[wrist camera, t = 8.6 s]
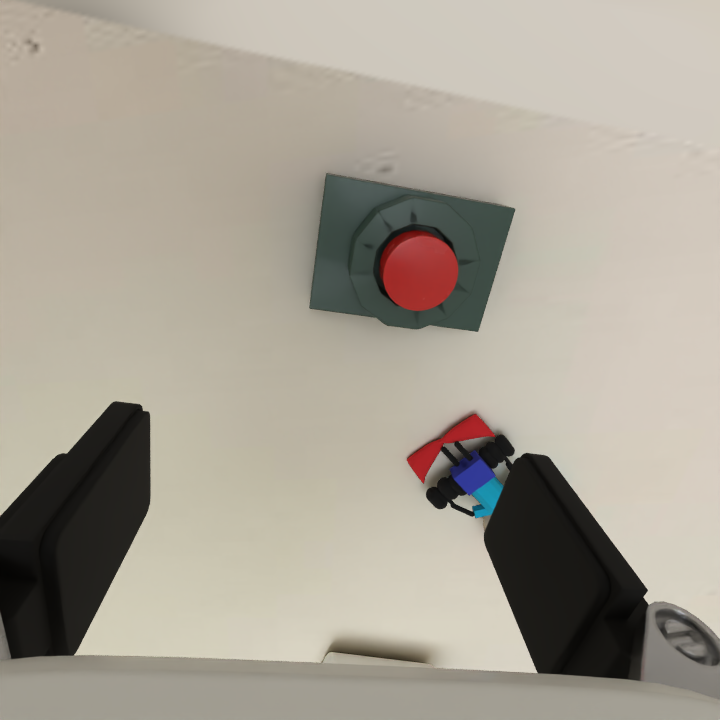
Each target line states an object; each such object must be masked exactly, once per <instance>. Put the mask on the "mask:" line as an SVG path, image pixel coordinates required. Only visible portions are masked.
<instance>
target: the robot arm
mask: <svg viewBox="0 0 720 720" xmlns="http://www.w3.org/2000/svg"><path fill="white" fill-rule="evenodd" d="M149 505H150V414H149V412H147V411H143V408H142V406H141V405H140V404H132V403H124V402H117V401H116V402H113V403H112V404H111V405H110V406H109V407H108V408H107V409H106V410H105V411H104V412H103V414H102V415H101V416H100V417H99V418H98V419H97V420H96V422H95V423H94V424H93V425H92V426H91V427H90V428H89V429H88V431H87V432H86V433H85V434H84V435H83V436H82V437H81V439H80V440H79V441H78V442H77V443H76V444H75V445H74V446H73V448H72V449H71V450H70V451H69V452H68V453H67V454H64V453H62V454H59V455H57V456H56V457H55V458H54V459H52V460H51V462H50V463H49V464H48V465H47V466H46V467H45V468H44V469H43V470H42V471H41V472H40V474H39V475H38V476H37V477H36V478H35V479H34V480H33V481H32V482H31V483H30V484H29V486H28V487H27V488H26V489H25V490H24V491H23V492H22V493H21V494H20V495H19V497H18V498H17V499H16V500H15V501H14V502H13V503H12V504H11V505H10V506H9V507H8V509H7V510H6V511H5V512H4V513H3V514H2V515H1V516H0V720H720V639H719V638H718V637H717V636H716V634H715V633H714V632H713V631H712V630H711V629H710V628H709V627H708V626H707V625H706V624H704V623H703V622H702V621H701V620H700V619H699V618H697V617H696V616H694V615H693V614H691V613H690V612H688V611H687V610H685V609H682V608H680V607H678V606H676V605H674V604H670V603H667V602H654V603H652V604H650V605H648V603H647V602H646V601H645V599H644V598H643V597H644V595H645V594H646V592H647V591H648V590H647V588H646V587H645V586H644V584H643V583H642V582H641V580H640V579H639V578H638V576H637V575H636V573H635V572H634V571H633V569H632V568H631V567H630V565H629V564H628V563H627V561H626V560H625V559H624V557H623V556H622V555H621V553H620V552H619V551H618V549H617V548H616V547H615V545H614V544H613V543H612V541H611V540H610V539H609V537H608V536H607V535H606V533H605V532H604V531H603V529H602V528H601V526H600V525H599V524H598V522H597V521H596V520H595V518H594V517H593V516H592V514H591V513H590V512H589V510H588V509H587V508H586V506H585V505H584V504H583V502H582V501H581V500H580V498H579V497H578V496H577V494H576V493H575V492H574V490H573V489H572V488H571V486H570V485H569V483H568V482H567V481H566V479H565V478H564V477H563V475H562V474H561V473H560V471H559V470H558V469H557V467H556V466H555V465H554V463H553V462H552V461H551V459H550V458H549V457H548V456H545V455H538V454H530V453H525V454H523V455H522V456H521V458H517V459H516V460H515V461H514V463H513V466H512V468H511V470H510V473H509V475H508V477H507V480H506V482H505V484H504V487H503V489H502V491H501V494H500V496H499V498H498V501H497V503H496V506H495V508H494V510H493V513H492V515H491V517H490V520H489V522H488V524H487V527H486V529H485V532H484V542H485V546H486V548H487V551H488V553H489V556H490V558H491V561H492V563H493V565H494V568H495V570H496V573H497V575H498V578H499V580H500V583H501V585H502V587H503V590H504V592H505V595H506V597H507V600H508V602H509V604H510V607H511V609H512V612H513V614H514V617H515V619H516V622H517V624H518V626H519V629H520V631H521V634H522V636H523V639H524V641H525V644H526V646H527V648H528V651H529V653H530V656H531V658H532V661H533V663H534V666H535V668H536V670H537V672H538V673H521V672H502V671H483V670H463V669H443V668H422V667H400V666H379V665H356V664H334V663H312V662H287V661H262V660H237V659H212V658H187V657H147V656H102V655H78V656H73V655H74V654H75V653H76V651H77V650H78V648H79V646H80V644H81V642H82V640H83V638H84V636H85V634H86V632H87V630H88V628H89V626H90V624H91V622H92V620H93V618H94V616H95V614H96V612H97V610H98V608H99V607H100V605H101V603H102V601H103V599H104V597H105V595H106V593H107V591H108V589H109V587H110V585H111V583H112V581H113V579H114V577H115V575H116V573H117V571H118V569H119V567H120V565H121V563H122V561H123V559H124V557H125V555H126V553H127V551H128V550H129V548H130V546H131V544H132V542H133V540H134V538H135V536H136V534H137V532H138V530H139V528H140V526H141V524H142V522H143V520H144V518H145V516H146V514H147V512H148V509H149Z"/></svg>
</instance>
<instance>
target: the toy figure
mask: <svg viewBox="0 0 720 720" xmlns="http://www.w3.org/2000/svg"><path fill="white" fill-rule="evenodd" d="M486 436H491V437H495V435H494V434H493V432H492V431H491V430H490V429H489V427H488V426H487V425H486V424H485V423H484V422H483V421H482V420H481V419H480V418H479V417H478V416H477V415H476V414H474V415H472V416H470V417H469V418H467V419H465V420H464V421H462V422H461V423H459V424H458V425H456V426H455V427H453V428H452V429H451V430H450V431H449V432H448V433H446V434H445V436H444V437H443V438H441V439H438V440H436V441H433V442H431V443H429V444H427V445H425V446H424V447H423V448H421V449H420V450H418V451H417V452H415V453H414V454H413V455H411V456H410V457H409V458H408V459H407V461H408V463H409V465H410V466H411V468H412V469H413V471H414V472H415V474H416V475H417V476H418V478H419V479H420V480H421V481H422V483H424V481H425V476H426V474H427V472H428V470H429V469H430V467H431V465H432V463H433V462H434V460H435V459H436V457H437V455H438V454H439V452H440V451H442V452H443V453H444V454H445V455H446V456H447V457H448V458H449V460H450V461H451V462H452V463H453V464H454V466H453V467H451V468H450V469H449V470H450V472H451V475H450V476H449V477H448V478H446V477H444V478H441V479H440V480H439V481H438V483H437V487H438V488H437V487H431V488H429V489H428V490H427V492H426V497H427V499H428V500H429V501H430V502H431V503H432V504H433V505H434V506H435V507H436V508H437V509H443V508H445V507H446V506H447V503H448V502H449V503H450V504H451V507H452V508H454V509H456V510H458V511H461V512H463V513H465V514H467V515H470V516H472V517H473V516H475V518H479V517H484V520H483V526H484V531H485V529H486V527H487V524H488V522H489V520H490V517H491V515H492V513H493V510H494V508H495V506H496V503H497V501H498V498H499V496H500V494H501V491H502V489H503V487H504V486H503V485H502V484H501V483H500V482H499V480H498V479H497V478H496V477H495V474H494V472H493V471H492V469H494V468H496V467H497V466H498V463H501V462H503V461H504V460H505V461H506V466H507V468H508V470H509V471H510V470H511V468H512V466H513V465H512V463H511V462H510V461H509V459H508V458H507V457H506V456H508V457H509V456H512V455H513V454H514V451H515V450H514V448H513V446H512V445H511V444H510V442H509V441H508V440H507V438H506V437H505V436H504V435H498V436H496V437H495V443H494V442H488V443H487V444H486V446H485V447H482V448H480V449H479V451H478V453H477V452H476V451H475V450H474V451H473V452H471V453H470V454H469V453H468V452H467V451H466V449H465V448H464V447H463V446H462V445H461V444H460V443H459V441H464V440H469V439H474V438H479V437H486ZM454 442H455V443H454ZM444 443H454V445H455V447H456V448H457V449H458V450H459V451H460V452H461V453H462V454H463V455H464V456H465V458H463V459H462V460H460V461H458V460H457V459H456V458H455V457H454V456H453V455H452V454H451V453H450V452H449V450H448V449H447V448H446V447H443V444H444ZM491 468H492V469H491ZM465 494H468V495H471V494H472V495H473V496H474V497H475V498H476V499H477V500H478V501H479V503H480V504H481V505H476V506H472V509H473V512H472V511H469V510H467V509H465V508H463V507H460V506H458V505H456V504H455V503H454V502H453V501H452V500H453V499H455V498H457V497H458V495H460V496H463V495H465Z"/></svg>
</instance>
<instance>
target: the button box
mask: <svg viewBox="0 0 720 720" xmlns="http://www.w3.org/2000/svg"><path fill="white" fill-rule="evenodd" d="M514 212H515V209H514V208H511V207H507V206H503V205H499V204H494V203H488V202H483V201H478V200H472V199H467V198H461V197H456V196H450V195H445V194H439V193H434V192H428V191H423V190H417V189H412V188H406V187H401V186H395V185H390V184H384V183H379V182H373V181H368V180H362V179H357V178H351V177H346V176H341V175H335V174H330V173H326V179H325V186H324V194H323V202H322V210H321V218H320V226H319V234H318V242H317V250H316V258H315V266H314V274H313V282H312V290H311V298H310V307H309V308H310V309H317V310H325V311H332V312H339V313H346V314H353V315H361V316H368V317H375V318H377V319H379V320H380V321H381V322H382V323H384V324H385V325H387V326H395V327H402V328H409V329H421V328H423V327H426V326H429V325H433V326H440V327H447V328H454V329H462V330H469V331H476V332H478V330H479V327H480V324H481V321H482V317H483V314H484V311H485V307H486V304H487V301H488V297H489V294H490V291H491V288H492V284H493V281H494V278H495V274H496V271H497V268H498V265H499V261H500V258H501V255H502V251H503V248H504V245H505V242H506V238H507V235H508V232H509V228H510V225H511V222H512V218H513V215H514ZM413 230H420V231H426V232H429V233H431V234H433V235H435V236H436V237H438V238H439V239H440V240H442V241H443V242H445V243H446V244H447V245H448V246H449V247H450V248H451V250H452V251H453V252H454V254H455V256H456V259H457V263H458V278H457V282H456V285H455V287H454V289H453V291H452V292H451V294H450V295H449V296H448V297H447V298H446V299H445V300H444V301H443V302H442V303H440V304H439V305H437V306H435V307H433V308H431V309H427V310H422V311H414V310H408V309H405V308H403V307H401V306H399V305H398V304H396V303H395V302H394V301H393V300H392V299H391V298H390V296H389V295H388V293H387V291H386V289H385V287H384V285H383V282H382V280H381V277H380V271H379V265H380V259H381V256H382V253H383V251H384V249H385V248H386V246H387V245H388V244H389V243H390V241H391V240H393V239H394V238H395V237H397V236H398V235H400V234H402V233H404V232H408V231H413Z"/></svg>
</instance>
